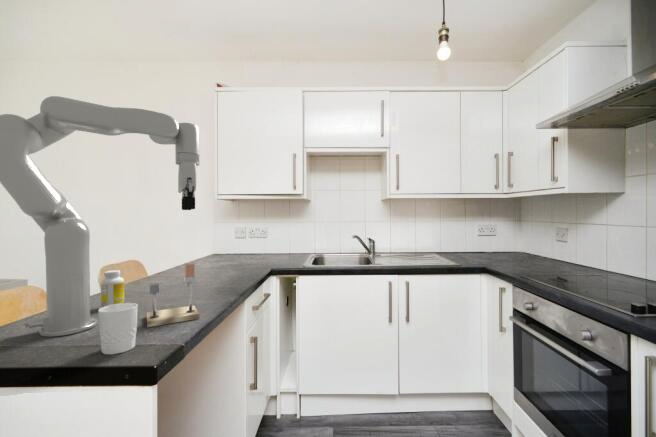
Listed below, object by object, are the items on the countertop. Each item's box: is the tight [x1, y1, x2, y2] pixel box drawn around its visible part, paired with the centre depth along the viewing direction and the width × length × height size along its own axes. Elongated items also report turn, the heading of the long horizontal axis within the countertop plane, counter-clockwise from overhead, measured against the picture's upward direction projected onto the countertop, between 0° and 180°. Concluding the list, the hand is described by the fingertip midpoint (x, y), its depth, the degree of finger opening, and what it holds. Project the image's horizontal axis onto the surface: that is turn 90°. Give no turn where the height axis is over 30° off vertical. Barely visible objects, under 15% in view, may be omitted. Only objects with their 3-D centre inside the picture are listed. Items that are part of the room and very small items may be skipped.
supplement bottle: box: [100, 269, 125, 308], centre depth 109 cm, size 7×7×13 cm
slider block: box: [183, 262, 196, 310], centre depth 100 cm, size 3×4×14 cm
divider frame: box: [148, 280, 197, 316], centre depth 97 cm, size 13×3×9 cm, turn 121°
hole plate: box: [146, 304, 200, 328], centre depth 98 cm, size 14×11×2 cm
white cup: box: [97, 302, 139, 355], centre depth 75 cm, size 8×8×10 cm
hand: (188, 209), depth 108 cm, fingers open, 9 cm apart
